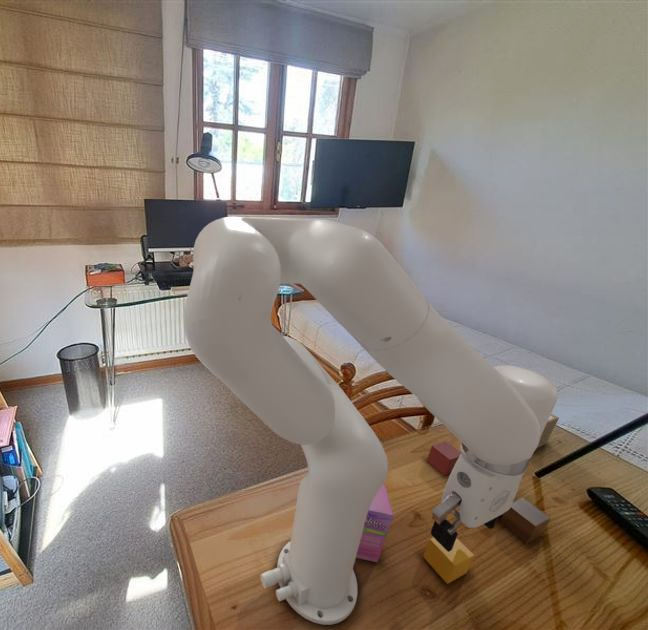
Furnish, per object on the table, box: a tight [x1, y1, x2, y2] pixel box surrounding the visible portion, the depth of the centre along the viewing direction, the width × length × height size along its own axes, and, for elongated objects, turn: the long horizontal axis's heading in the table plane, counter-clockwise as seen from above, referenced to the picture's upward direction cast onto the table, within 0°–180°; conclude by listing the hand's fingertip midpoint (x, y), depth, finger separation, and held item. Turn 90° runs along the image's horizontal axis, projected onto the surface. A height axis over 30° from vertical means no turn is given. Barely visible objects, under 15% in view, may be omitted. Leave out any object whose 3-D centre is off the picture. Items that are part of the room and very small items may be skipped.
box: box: [356, 482, 394, 563], centre depth 60 cm, size 10×6×12 cm, turn 168°
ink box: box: [536, 413, 560, 449], centre depth 84 cm, size 10×4×8 cm, turn 113°
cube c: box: [426, 440, 462, 476], centre depth 77 cm, size 5×5×5 cm
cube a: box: [499, 497, 551, 544], centre depth 63 cm, size 5×5×5 cm
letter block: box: [422, 536, 475, 585], centre depth 57 cm, size 5×5×5 cm
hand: (462, 531), depth 55 cm, fingers open, 9 cm apart
